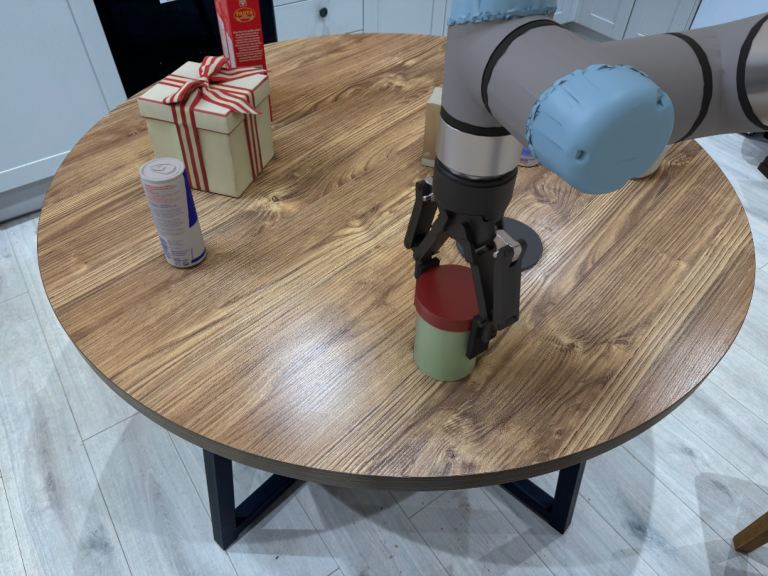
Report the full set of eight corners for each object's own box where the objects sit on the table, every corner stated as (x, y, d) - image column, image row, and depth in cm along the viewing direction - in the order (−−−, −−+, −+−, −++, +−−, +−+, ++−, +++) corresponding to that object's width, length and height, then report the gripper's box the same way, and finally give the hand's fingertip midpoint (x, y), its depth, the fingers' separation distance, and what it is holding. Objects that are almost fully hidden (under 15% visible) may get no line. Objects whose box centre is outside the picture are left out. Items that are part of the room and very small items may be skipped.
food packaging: (272, 121, 111) (256, -19, 94) (246, 125, 110) (224, -16, 92) (254, 89, 121) (236, -43, 103) (230, 92, 119) (207, -41, 102)
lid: (397, 300, 64) (398, 288, 63) (450, 265, 68) (452, 253, 67) (456, 345, 60) (458, 333, 58) (508, 305, 64) (511, 293, 63)
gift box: (263, 203, 92) (248, 103, 80) (156, 187, 94) (126, 87, 82) (295, 149, 104) (286, 55, 92) (200, 136, 106) (180, 43, 94)
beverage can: (212, 261, 82) (190, 172, 71) (173, 274, 79) (144, 185, 69) (200, 239, 85) (177, 151, 74) (162, 251, 83) (133, 162, 72)
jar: (489, 364, 70) (504, 304, 62) (437, 391, 67) (447, 332, 59) (450, 323, 74) (460, 263, 67) (401, 347, 71) (405, 287, 64)
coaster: (560, 254, 85) (561, 251, 85) (493, 285, 80) (494, 282, 79) (502, 209, 93) (503, 206, 92) (438, 234, 87) (439, 231, 87)
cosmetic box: (429, 148, 106) (435, 85, 97) (452, 152, 105) (460, 89, 96) (420, 166, 101) (425, 101, 93) (444, 171, 100) (451, 106, 92)
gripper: (599, 205, 46) (539, 373, 62) (434, 100, 59) (418, 263, 74) (535, 237, 43) (488, 406, 59) (374, 119, 55) (371, 285, 71)
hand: (449, 326), depth 67 cm, fingers closed on lid, 9 cm apart
